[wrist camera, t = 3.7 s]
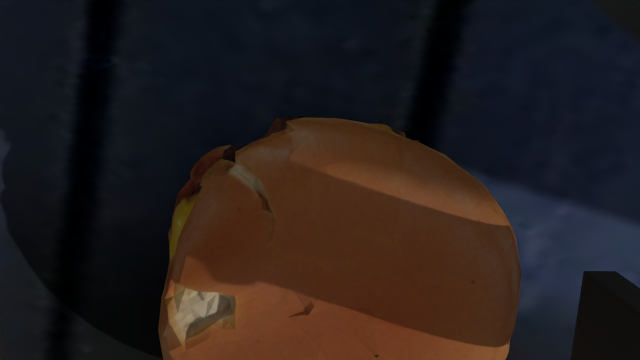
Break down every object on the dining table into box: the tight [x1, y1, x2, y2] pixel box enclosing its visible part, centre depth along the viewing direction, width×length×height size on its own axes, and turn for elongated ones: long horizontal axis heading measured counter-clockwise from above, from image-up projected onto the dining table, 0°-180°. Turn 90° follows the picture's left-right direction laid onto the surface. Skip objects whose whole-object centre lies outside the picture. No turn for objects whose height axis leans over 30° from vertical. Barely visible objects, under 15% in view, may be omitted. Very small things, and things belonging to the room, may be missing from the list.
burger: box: [158, 116, 521, 360], centre depth 16 cm, size 10×9×5 cm
